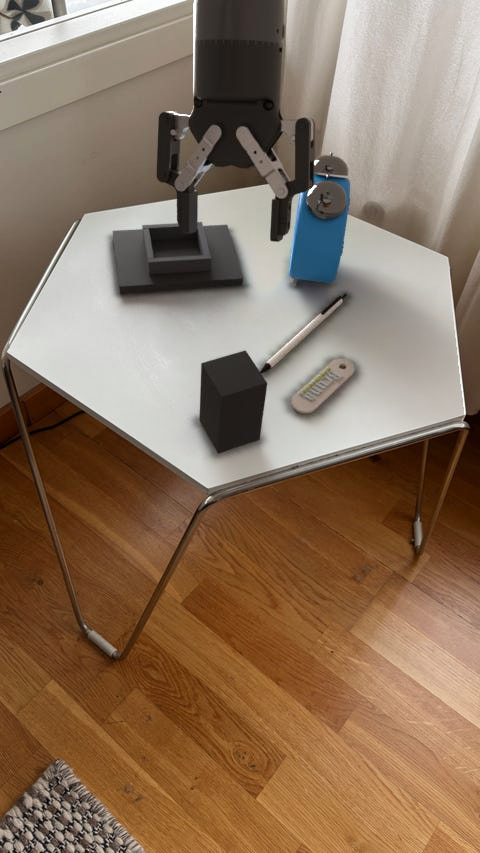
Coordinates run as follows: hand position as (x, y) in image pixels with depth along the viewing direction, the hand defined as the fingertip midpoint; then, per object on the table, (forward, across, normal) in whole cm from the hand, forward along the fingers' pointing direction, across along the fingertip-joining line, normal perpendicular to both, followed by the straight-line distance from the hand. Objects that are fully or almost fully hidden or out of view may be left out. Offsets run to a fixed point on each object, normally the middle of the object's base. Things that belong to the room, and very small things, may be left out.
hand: (232, 236), depth 66 cm
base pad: (+8, -16, +25) cm, 31 cm away
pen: (+15, +4, +19) cm, 25 cm away
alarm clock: (+9, +2, +31) cm, 32 cm away
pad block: (+21, -1, +3) cm, 21 cm away
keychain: (+18, +8, +12) cm, 23 cm away
